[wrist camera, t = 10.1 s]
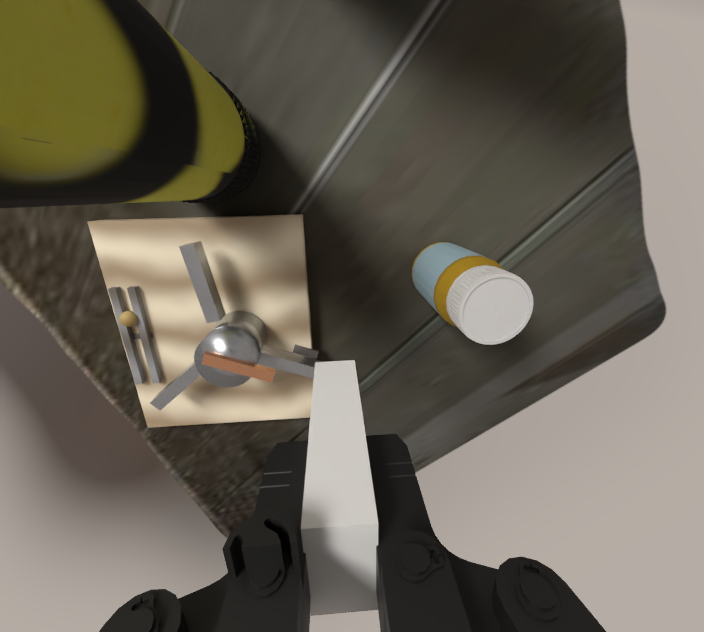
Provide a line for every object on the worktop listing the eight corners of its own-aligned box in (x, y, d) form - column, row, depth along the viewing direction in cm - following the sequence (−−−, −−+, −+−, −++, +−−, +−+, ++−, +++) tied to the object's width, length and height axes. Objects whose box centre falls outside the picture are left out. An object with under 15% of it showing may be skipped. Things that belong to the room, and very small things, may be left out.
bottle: (452, 303, 42) (514, 358, 28) (401, 288, 41) (439, 337, 27) (475, 251, 40) (554, 282, 26) (422, 233, 39) (475, 256, 25)
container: (137, 98, 32) (-1116, -528, 4) (244, 73, 32) (-320, -731, 4) (180, 211, 36) (-336, 270, 8) (275, 189, 36) (90, 174, 8)
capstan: (166, 387, 41) (133, 426, 34) (197, 234, 35) (164, 244, 28) (299, 420, 44) (293, 462, 37) (348, 284, 38) (352, 304, 31)
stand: (99, 220, 36) (74, 223, 32) (310, 214, 37) (308, 216, 34) (155, 417, 45) (140, 436, 41) (323, 407, 46) (322, 425, 43)
